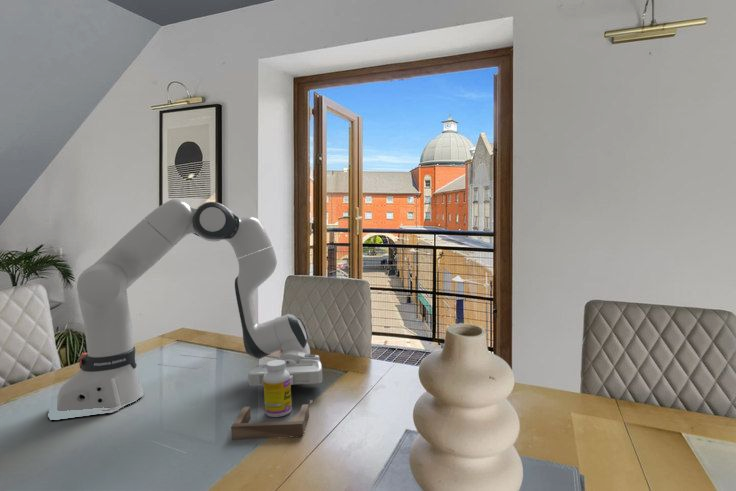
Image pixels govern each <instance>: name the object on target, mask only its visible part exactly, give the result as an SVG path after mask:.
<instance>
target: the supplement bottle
mask: <svg viewBox="0 0 736 491" xmlns="http://www.w3.org/2000/svg"><path fill="white" fill-rule="evenodd" d="M265 365H266V366H267V370H268V372H266V373H265V375H264V377H263V383H264V386H263V398H264V410H265V411H264V412H265V415H266V416H268V417H270V418H279V417H280V418H281V417H285V416H287V415H289V414H290V413H291V411H292V409H293V407H292V385H290V374H289V372H288V371H287V370H285V367H286V365H285V361H284V360H277V359H272V360H270V361H267V362H266V364H265Z"/></svg>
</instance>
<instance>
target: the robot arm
mask: <svg viewBox="0 0 736 491" xmlns="http://www.w3.org/2000/svg"><path fill="white" fill-rule="evenodd" d="M190 234H193V235H195V236H197V237H199V238H200V239H203V240H205V241H208V242H219V241H223V240H224V241H226V242H228V243H229V244H230V245H231V247H232V249H233V251H234V253H235V257H236V259H237V262H238V275H237V276H236V278H235V279H234V291H235V297H236V303H237V308H238V313H239V315H238V316H239V319H240V324H241V330H242V340H243V347H244V349H245V353H246V354H248V356H251V357H252V358H255V359H258V360H261V359H263V358H265V357H267V356H270V355H271V354H273V353H275V352H279V351H281V353H280V354H279V356H278V358H277V359H276V360H284V361H285V365H286V367H285V370H287V371H288V372H289V374H290V385H291V386H292V385H311V384H312V385H313V384H321V383H322V382H323V365H322V362H321V360H320V355H318V354H311V349H310V344H309V343H308V340H309V337H308V332H307V328H306V327H305V324H304V322H303V321H302V320H301V318H299V317H298V316H296V314H292V313H287V314H283V315H282V316H278V317H275V318H274V319H270V320H267V321H266V322H261V323H258V322H257V316H256V312H255V306H254V300H253V299H254V298H253V297H254V294H255V291H256V290H257V289H258V288H259V287H260V286H261V285H262V284H264V283H265V282H266V281H267V280H268V279H269V278H270V277H271V276H272V275H273V273H274V272H275V270H276V268H277V262H278V261H277V256H276V253H275V250H274V247H273V245H272V241H271V240H270V238H269V235H268V233H267V231H266V229H265V228H264V226H263V225H262V223H261V221H260V220H259V219H258V218H256V217H254V216H243V217H240V218H239V217H238V216H237V215H236V214H235V213H234V212H233V211H232V210H230V208H228V207H227V206H225V205H224V204H222V203H220V202H215V201H208V202H205V203H202V204H201V205H200V206H198V207H197V208H194V207H192V206H190V205H189V204H188V203H187V202H185V201H183V200H181V199H176V198H174V199H169V200H168V201H166V202H165V203H162V204H161V205H160V206H158V207H156V208H155V209H154V210H153V211H151V212H150V213H148V214H147V215H146V216H145V217H144V218H142V220H141V221H139V222H138V223H137V224H136V225H135V226H134V227H132V228H131V229H130V230H129V231H128V232H127V233H126V234H125V235H124V236H122V237H121V238H120V239H119V240H118V241H117V242H116V243H115V244H114V245H113V246H112V247H111V248H110V249H109V250H108V251H106V252H105V253H104V254H103V255H102V256H101V257H100V258H99V259H98V260H96V261H95V262H94V263H93V264H92V265H90V266H89V267H87V268H86V269H83V270H84V271H82V273H80V275H79V276H78V278H77V281H76V291H77V296H78V302H79V307H80V311H81V316H82V320H83V326H84V331H85V332H84V333H85V341H86V350H87V351H86V352H83V353H81V355H80V356H79V360H78V364H79V365H78V366H79V370H78V371H77V372H76V373H75V374H73V376H71V377H70V378H69V379H68V380H67V381H66V382H64V383H63V384H62V385H61V387H60V389H59V390H58V394H57V399H56V402H57V410H58V411H67V410H69V411H70V410H83V409H93V408H103V407H104V408H110V409H108V410H102V411H110V410H115V409H117V408H119V407H120V406H122V405H124V404H127V403H129V402H132V401H134V400H137V399H138V398H140V397H141V396H142V395H143V392H144V390H143V388H142V385H141V382H140V379H139V375H138V370H137V365H138V358H137V351H136V347H135V346H134V339H133V338H134V337H133V328H132V317H131V312H130V306H129V300H128V293H127V291H128V290H127V289H129V287H131V286H132V285H133V284H134V283H135V282H136V281H137V280H139V278H141V277H142V276H143V275H144V274H145V273H147V271H149V270H150V269H152V268H153V266H154V265H156V264H157V263H158V262H159V261H160V260H161V259H162V258H163V257H164V256H165V255H166V254H167V253H169V251H171V250H172V249H173V248H174V247H175V246H176V245H177V244H178V243H179V242H180V241H181V240H183V239H184V238H185V237H187V236H188V235H190ZM266 372H268V370H267V366H266V364H259V365H256V366H254V367H253V368H252V369H251V370H249V372H248V374H247V380H248V381H247V382H248V385H249V386H250V387H264V383H263V377H264V375H265V373H266Z"/></svg>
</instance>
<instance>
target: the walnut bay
mask: <svg viewBox="0 0 736 491" xmlns="http://www.w3.org/2000/svg"><path fill="white" fill-rule="evenodd" d="M309 408H310V407H309V404H305V403H304V404H302V405H301V408H300V410H299V413H298V416H297V419H296V420H289V421H265V422H263V421H262V422H260V421H259V422H250V421H251V419H252V418H251V417H252V416H251V407H250V406H243V407H242V409H241V410H240V413H238V416H237V417H236V419H235V420H234V421H233V423H232V424H231V426H230V429H231V430H230V431H231V432H230V433H231V440H251V439H255V440H256V439H278V437H285V438H291V437H290V436H303V437H304V435H305V432H304V431H306V429H305V428H307V425H308V422H307V421H309V419H308V418H310V409H309ZM303 434H304V435H303Z"/></svg>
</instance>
